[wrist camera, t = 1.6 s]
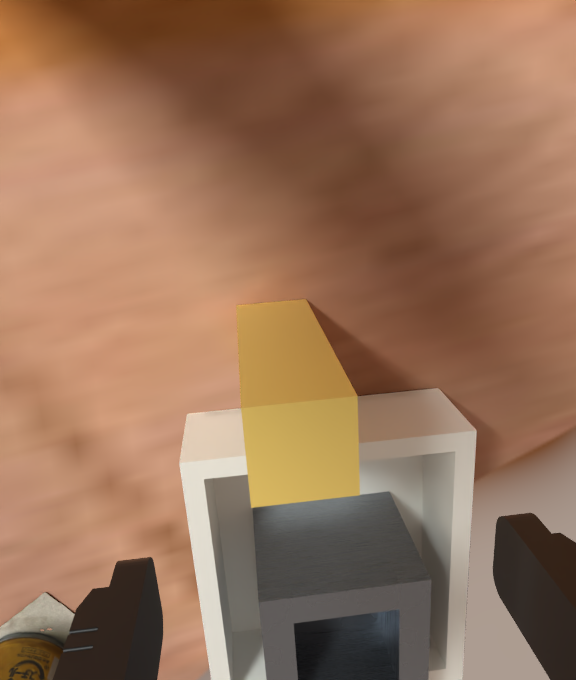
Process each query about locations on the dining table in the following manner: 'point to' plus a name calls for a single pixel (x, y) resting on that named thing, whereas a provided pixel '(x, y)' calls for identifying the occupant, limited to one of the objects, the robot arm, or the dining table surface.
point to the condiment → (34, 640)
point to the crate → (375, 476)
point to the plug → (294, 407)
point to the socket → (341, 591)
